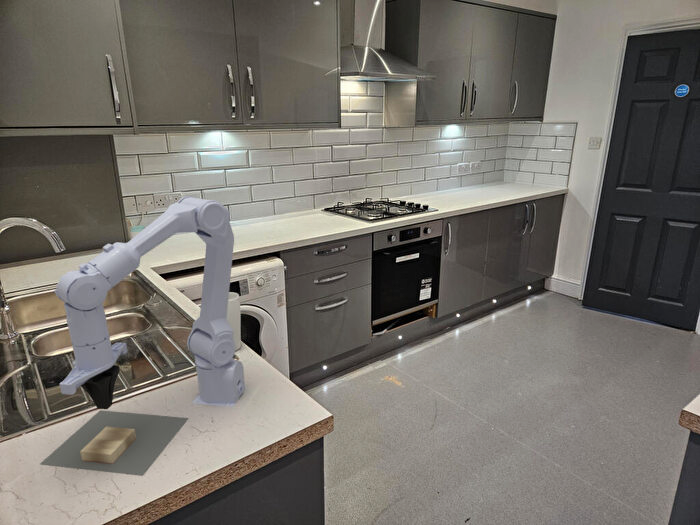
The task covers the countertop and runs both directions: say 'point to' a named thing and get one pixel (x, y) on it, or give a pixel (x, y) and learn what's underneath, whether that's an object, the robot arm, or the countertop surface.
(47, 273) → the countertop surface
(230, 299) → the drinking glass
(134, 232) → the can
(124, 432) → the tile
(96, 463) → the mat
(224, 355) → the robot arm
